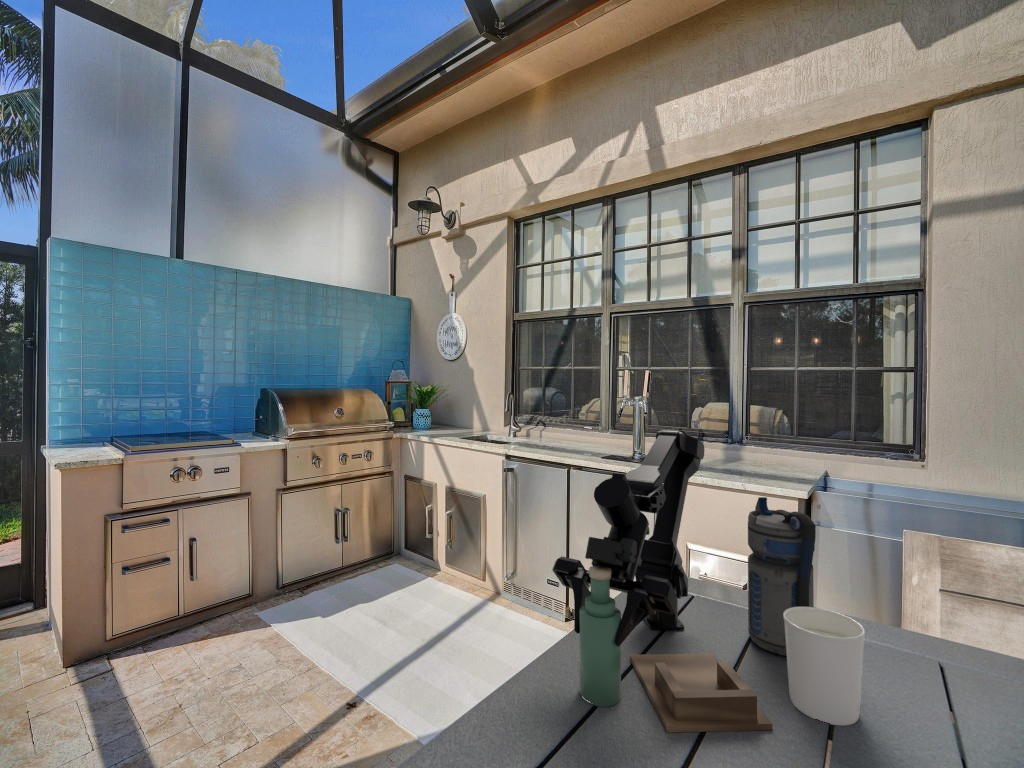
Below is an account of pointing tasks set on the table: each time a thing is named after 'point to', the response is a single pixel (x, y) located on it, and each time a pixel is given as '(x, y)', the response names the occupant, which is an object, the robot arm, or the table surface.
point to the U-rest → (698, 693)
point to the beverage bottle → (777, 571)
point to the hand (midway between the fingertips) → (596, 638)
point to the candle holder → (824, 663)
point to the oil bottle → (600, 642)
